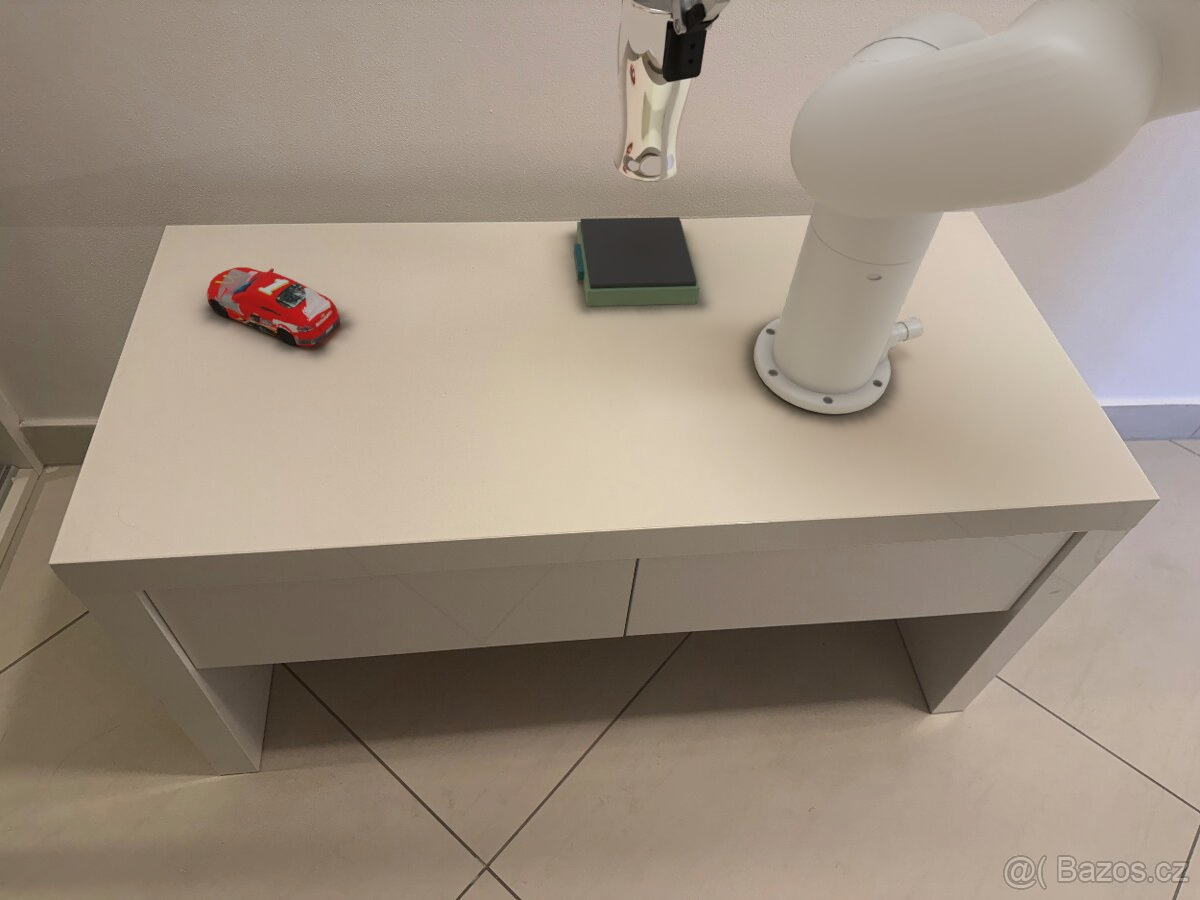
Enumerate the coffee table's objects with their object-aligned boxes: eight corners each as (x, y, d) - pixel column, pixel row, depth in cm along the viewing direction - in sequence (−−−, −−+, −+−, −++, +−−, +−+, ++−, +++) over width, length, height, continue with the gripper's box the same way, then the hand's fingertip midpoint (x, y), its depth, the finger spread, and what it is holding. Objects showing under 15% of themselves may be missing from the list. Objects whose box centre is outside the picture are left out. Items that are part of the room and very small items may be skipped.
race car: (199, 308, 81) (185, 274, 78) (240, 276, 84) (228, 243, 81) (311, 358, 77) (302, 325, 74) (349, 323, 81) (342, 290, 77)
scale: (678, 235, 92) (681, 215, 90) (696, 303, 85) (700, 283, 83) (570, 237, 91) (571, 216, 89) (580, 307, 84) (581, 286, 82)
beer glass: (678, 191, 76) (703, 18, 65) (602, 178, 77) (613, 5, 65) (689, 149, 81) (714, -20, 69) (616, 137, 81) (629, -32, 70)
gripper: (807, -171, 54) (752, 99, 67) (675, -245, 63) (650, 5, 77) (703, -162, 51) (668, 116, 65) (582, -240, 61) (574, 16, 75)
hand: (658, 54), depth 71 cm, fingers closed on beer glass, 7 cm apart
